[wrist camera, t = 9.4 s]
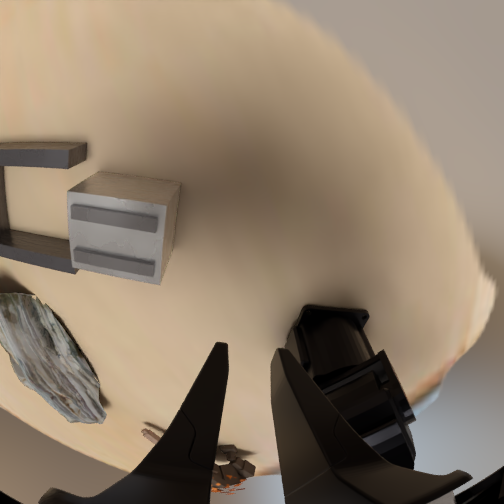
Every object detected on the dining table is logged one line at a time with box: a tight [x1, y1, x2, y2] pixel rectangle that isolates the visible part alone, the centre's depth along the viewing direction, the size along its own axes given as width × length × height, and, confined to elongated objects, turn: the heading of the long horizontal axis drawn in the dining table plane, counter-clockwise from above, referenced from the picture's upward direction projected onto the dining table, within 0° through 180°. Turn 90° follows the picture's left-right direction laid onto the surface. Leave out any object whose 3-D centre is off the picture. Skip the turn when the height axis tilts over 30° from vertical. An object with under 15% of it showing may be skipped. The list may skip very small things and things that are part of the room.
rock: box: [0, 292, 107, 424], centre depth 23 cm, size 23×7×15 cm
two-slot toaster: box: [67, 172, 181, 285], centre depth 16 cm, size 6×5×5 cm
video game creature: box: [141, 429, 256, 494], centre depth 33 cm, size 9×20×8 cm, turn 40°
